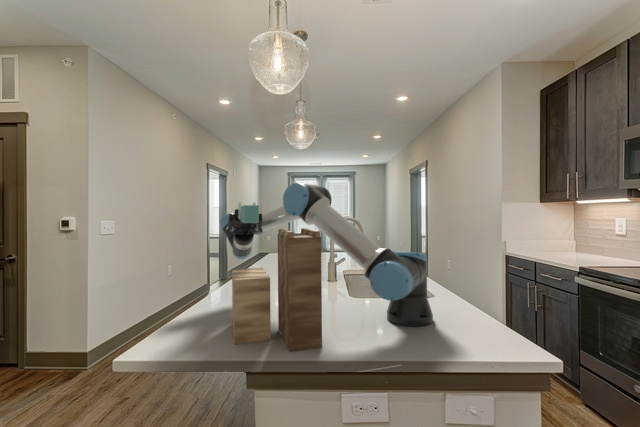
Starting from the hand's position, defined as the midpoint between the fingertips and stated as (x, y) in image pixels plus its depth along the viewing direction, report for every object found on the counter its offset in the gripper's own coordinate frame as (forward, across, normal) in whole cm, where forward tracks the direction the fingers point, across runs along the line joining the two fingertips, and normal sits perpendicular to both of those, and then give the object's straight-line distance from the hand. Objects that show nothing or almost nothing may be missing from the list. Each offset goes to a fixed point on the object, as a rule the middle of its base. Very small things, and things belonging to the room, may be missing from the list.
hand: (247, 206), depth 107 cm
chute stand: (-4, -13, -42) cm, 45 cm away
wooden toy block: (-13, 0, -38) cm, 40 cm away
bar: (0, 0, -6) cm, 6 cm away
